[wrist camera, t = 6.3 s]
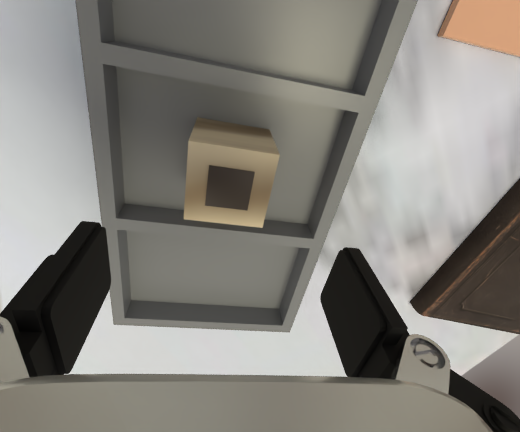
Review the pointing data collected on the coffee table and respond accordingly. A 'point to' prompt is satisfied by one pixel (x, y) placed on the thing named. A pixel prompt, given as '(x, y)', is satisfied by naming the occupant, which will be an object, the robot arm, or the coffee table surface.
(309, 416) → the robot arm
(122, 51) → the grey organiser
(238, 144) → the birch cube
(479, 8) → the terracotta tile
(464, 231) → the coffee table surface
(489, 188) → the coffee table surface
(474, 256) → the hardcover book
